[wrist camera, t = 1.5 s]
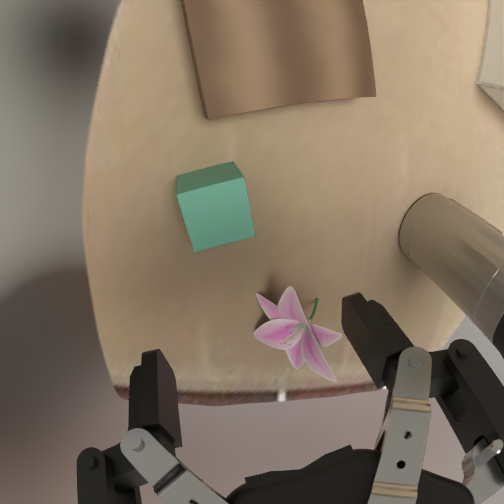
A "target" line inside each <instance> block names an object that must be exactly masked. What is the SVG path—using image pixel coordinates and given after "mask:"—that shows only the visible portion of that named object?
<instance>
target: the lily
mask: <svg viewBox="0 0 504 504" xmlns="http://www.w3.org/2000/svg"><path fill="white" fill-rule="evenodd" d="M256 297H257V299H258V301H259V303H260V305H261V307H262V309H263V310H264V312H265V314H266V315H267V316H268V318H269V319H270V320H271V321H268V322H266V323H264V324H263V325H261V326H260V327H259V328H258V329H256V330H255V331H254V336H255V337H256V338H257V339H258V340H260V341H261V342H263V343H264V344H266V345H268V346H270V347H273V348H276V349H281V350H286V353H287V356H288V358H289V360H290V362H291V364H292V365H293V367H294V368H295V369H297V370H298V369H299V368H300V367H301V366H302V365H303V364H304V363H306V364H307V366H308V367H309V368H311V369H312V370H313V371H314V372H316V373H317V374H319V375H321V376H322V377H324V378H326V379H328V380H330V381H332V382H337V379H336V377H335V375H334V374H333V372H332V370H331V369H330V367H329V365H328V363H327V361H326V359H325V357H324V355H323V353H322V350H321V348H320V347H326V346H329V345H331V344H333V343H335V342H337V341H338V340H340V339H341V338H342V336H343V335H342V334H340V333H338V332H335V331H332V330H330V329H327V328H324V327H321V326H318V325H315V324H312V323H310V322H311V320H312V318H313V316H314V314H315V311H316V308H317V303H318V298H316V301H315V306H314V309H313V313H312V315H311V317H310V318H309V320H307V319H306V317H305V315H304V313H303V310H302V307H301V305H300V302H299V299H298V297H297V294H296V292H295V290H294V289H293V287H292V286H289V287H287V289H286V290H285V291H284V293H283V295H282V296H281V298H280V301H279V303H278V306H276V305H275V304H273V303H272V302H270V301H269V300H267V299H266V298H264V297H263V296H261V295H260V294H258V293H256Z"/></svg>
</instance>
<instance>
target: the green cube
mask: <svg viewBox="0 0 504 504" xmlns="http://www.w3.org/2000/svg"><path fill="white" fill-rule="evenodd" d="M176 195H177V198H178V202H179V205H180V208H181V212H182V215H183V218H184V222H185V225H186V228H187V231H188V235H189V238H190V241H191V244H192V247H193V251H194V252H198V251H202V250H205V249H209V248H213V247H216V246H220V245H224V244H228V243H231V242H235V241H239V240H243V239H247V238H250V237H254V236H255V232H254V226H253V221H252V216H251V211H250V206H249V201H248V196H247V190H246V185H245V180H244V177H243V175H242V174H241V172H240V171H239V169H238V168H237V166H236V165H235V164H234V162H233V161H232V162H228V163H224V164H220V165H216V166H212V167H208V168H204V169H200V170H196V171H193V172H189V173H185V174H182V175H178V176H177V193H176Z"/></svg>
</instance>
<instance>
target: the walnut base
mask: <svg viewBox="0 0 504 504" xmlns="http://www.w3.org/2000/svg"><path fill="white" fill-rule="evenodd" d="M181 3H182V8H183V13H184V18H185V23H186V28H187V33H188V38H189V43H190V48H191V52H192V57H193V62H194V67H195V72H196V76H197V81H198V86H199V91H200V95H201V100H202V105H203V109H204V114H205V117H206V118H207V119H208V120H211V119H215V118H220V117H225V116H229V115H234V114H239V113H244V112H249V111H255V110H260V109H266V108H272V107H278V106H285V105H292V104H299V103H307V102H315V101H324V100H334V99H345V98H359V97H376V88H375V78H374V69H373V61H372V53H371V46H370V40H369V33H368V27H367V21H366V16H365V10H364V5H363V0H181Z"/></svg>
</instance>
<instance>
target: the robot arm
mask: <svg viewBox="0 0 504 504" xmlns="http://www.w3.org/2000/svg"><path fill="white" fill-rule="evenodd" d="M399 242H400V247H401V249H402V251H403V253H404V254H405V255H406V256H407V257H408V258H410V259H411V260H412V261H413V262H414V263H415V264H416V265H417V266H418V267H419V268H420V269H421V270H422V271H423V272H424V273H425V274H426V275H427V276H428V277H429V278H430V279H431V280H432V281H433V282H434V283H435V284H436V285H437V286H438V287H440V288H441V289H442V290H443V291H444V292H445V293H446V295H447V296H448V297H449V298H450V299H451V300H452V301H453V302H454V303H455V304H456V305H457V306H458V307H459V308H460V309H461V310H462V311H463V312H464V313H465V314H466V315H467V316H468V317H469V318H470V319H471V321H472V322H473V323H474V324H475V325H476V326H477V327H478V328H479V329H480V330H481V331H482V332H483V334H484V335H485V336H486V337H487V338H488V339H489V340H490V342H491V343H492V344H493V345H494V346H495V347H496V348H497V350H498V351H499V352H500V353H501V355H502V357H503V358H504V236H503V235H502V232H501V231H500V230H499V229H497V228H496V227H494V226H493V225H491V224H490V223H488V222H487V221H485V220H484V219H482V218H481V217H479V216H478V215H476V214H475V213H473V212H472V211H470V210H468V209H467V208H465V207H464V206H462V205H461V204H459V203H457V202H456V201H454V200H452V199H447V198H445V197H444V196H442V195H440V194H434V193H432V194H428V195H426V196H424V197H422V198H420V199H419V200H418V201H417V202H416V203H415V204H414V205H413V206H412V207H411V208H410V210H409V211H408V213H407V214H406V216H405V218H404V220H403V223H402V226H401V229H400V235H399ZM342 327H343V330H344V333H345V335H346V336H347V338H348V340H349V341H350V343H351V345H352V346H353V348H354V350H355V351H356V353H357V355H358V356H359V358H360V360H361V361H362V363H363V365H364V366H365V368H366V370H367V371H368V373H369V375H370V376H371V378H372V380H373V381H374V383H375V385H376V386H377V388H378V389H379V388H381V387H383V386H385V385H386V387H387V389H388V390H389V391H388V395H387V400H386V405H385V409H384V414H383V419H382V422H381V427H380V430H379V433H378V437H377V439H376V443H375V446H374V450H371V449H354V450H353V449H352V447H351V445H348V446H346V447H343V448H341V449H338V450H336V451H333V452H330V453H328V454H325V455H324V456H322V457H321V458H319V459H317V460H316V461H314V462H312V463H311V464H309V465H308V466H306V467H304V468H302V469H299V470H289V471H288V470H286V471H270V472H266V473H263V474H259V475H255V476H250V477H246V478H245V481H246V483H245V484H243V485H241V486H239V487H238V488H236V489H235V490H234V491H233V492H231V493H230V494H229V495H228V496H227V498H225V497H223V496H222V495H221V494H219V493H218V492H217V491H216V490H214V489H213V488H212V487H210V486H209V485H208V484H207V483H205V482H204V481H203V480H202V479H200V478H199V477H198V476H197V475H196V474H194V473H193V472H192V471H191V470H190V469H189V468H188V467H187V466H185V465H184V464H183V463H182V462H181V461H180V460H179V459H178V458H176V454H175V448H177V447H182V438H181V430H180V421H179V411H178V400H177V388H176V379H175V375H174V372H173V370H172V368H171V367H170V365H169V363H168V362H167V360H166V358H165V357H164V355H163V353H162V352H161V350H160V349H156V350H152V351H147V352H143V353H142V361H141V365H140V366H135V367H134V369H133V371H132V373H131V376H130V386H129V387H130V389H129V396H130V398H129V427H128V432H127V433H126V434H125V435H124V436H123V437H122V439H121V442H120V443H119V444H117V445H115V446H113V447H111V448H108V449H106V450H104V451H100V450H99V449H96V448H93V447H91V448H87V449H85V450H83V451H82V452H81V453H80V454H79V456H78V459H77V492H78V504H142V502H141V495H140V489H139V486H141V485H143V484H146V483H149V484H150V485H151V486H152V487H153V488H154V492H155V493H156V494H157V496H158V497H160V499H161V500H162V501H163V502H164V503H165V504H480V503H482V502H483V501H485V500H486V499H487V498H489V497H490V496H492V495H493V494H494V493H495V492H497V491H498V490H499V489H500V488H502V487H503V486H504V386H503V385H502V383H501V382H500V380H499V379H498V377H497V376H496V375H495V373H494V372H493V370H492V369H491V368H490V366H489V365H488V363H487V362H486V361H485V359H484V358H483V357H482V355H481V354H480V353H479V351H478V350H477V349H476V347H475V346H474V345H473V344H472V343H471V342H470V341H467V340H464V339H458V340H455V341H453V342H452V343H451V344H450V346H449V348H448V349H446V350H441V351H435V352H427V351H426V350H425V349H423V348H420V347H415V346H414V345H413V344H412V343H411V341H410V340H409V339H408V337H407V336H406V335H405V334H404V332H403V331H402V330H401V328H400V327H399V326H398V324H397V323H396V322H394V319H393V318H392V317H391V316H390V315H389V313H388V312H387V310H386V309H385V308H384V307H383V305H381V304H379V303H378V302H376V301H374V300H370V301H368V302H367V301H366V299H365V298H364V297H363V295H362V294H361V293H359V292H358V293H355V294H352V295H349V296H346V297H343V299H342ZM432 397H435V398H436V400H437V402H438V403H439V405H440V407H441V409H442V410H443V412H444V414H445V416H446V418H447V419H448V421H449V423H450V425H451V427H452V429H453V430H454V432H455V434H456V436H457V438H458V440H459V441H460V443H461V445H462V447H463V449H464V451H465V453H466V454H465V456H464V458H463V460H462V469H463V473H464V479H463V482H462V483H460V482H457V481H454V480H451V479H448V478H445V477H442V476H440V475H437V474H434V473H431V472H429V471H426V470H423V469H422V465H423V460H424V455H425V449H426V444H427V438H428V431H429V424H430V417H431V405H429V398H432Z"/></svg>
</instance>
